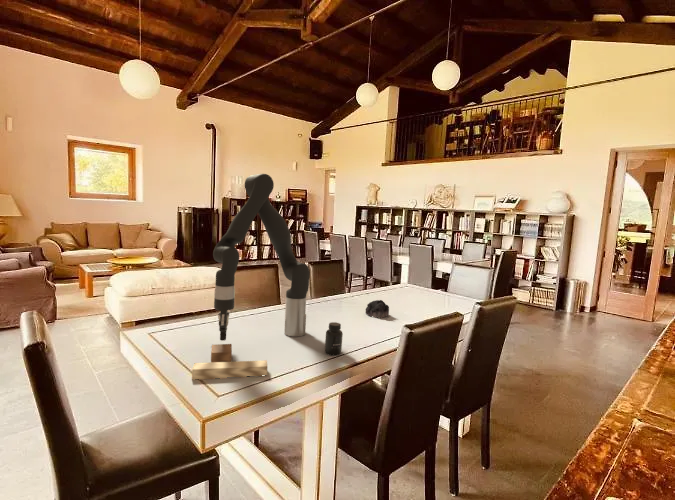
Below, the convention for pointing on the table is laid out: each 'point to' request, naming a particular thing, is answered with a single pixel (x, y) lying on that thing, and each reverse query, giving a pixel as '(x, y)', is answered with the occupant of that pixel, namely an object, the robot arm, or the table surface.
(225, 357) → the walnut block
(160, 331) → the table surface
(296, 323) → the robot arm
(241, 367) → the ash board
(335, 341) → the supplement bottle
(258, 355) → the table surface
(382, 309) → the black rock
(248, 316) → the table surface
